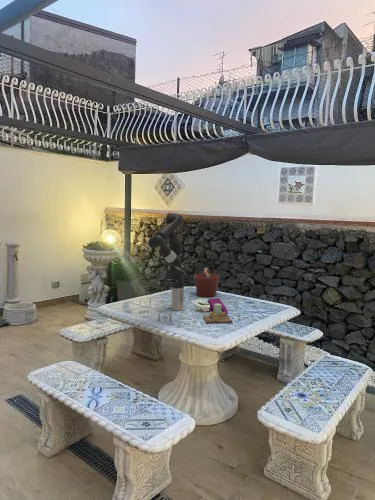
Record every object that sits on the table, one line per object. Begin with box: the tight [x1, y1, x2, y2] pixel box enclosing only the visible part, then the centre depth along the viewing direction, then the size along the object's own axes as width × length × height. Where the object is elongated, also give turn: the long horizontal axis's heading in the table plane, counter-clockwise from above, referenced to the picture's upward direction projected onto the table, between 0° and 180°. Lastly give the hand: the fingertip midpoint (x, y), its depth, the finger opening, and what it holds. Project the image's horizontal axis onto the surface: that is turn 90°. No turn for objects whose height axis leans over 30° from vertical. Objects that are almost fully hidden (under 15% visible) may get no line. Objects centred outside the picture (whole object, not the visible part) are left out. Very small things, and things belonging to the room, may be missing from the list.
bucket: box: [193, 267, 221, 299], centre depth 332 cm, size 24×22×25 cm
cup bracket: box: [202, 311, 233, 325], centre depth 260 cm, size 14×18×6 cm
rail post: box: [214, 303, 222, 314], centre depth 260 cm, size 4×4×10 cm
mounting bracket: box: [206, 297, 229, 315], centre depth 280 cm, size 9×8×18 cm
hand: (186, 273), depth 257 cm, fingers open, 8 cm apart
